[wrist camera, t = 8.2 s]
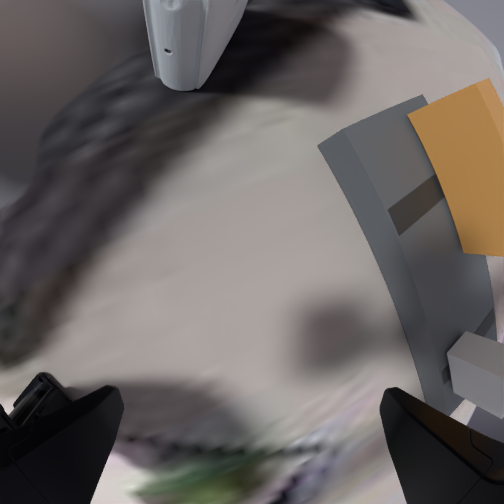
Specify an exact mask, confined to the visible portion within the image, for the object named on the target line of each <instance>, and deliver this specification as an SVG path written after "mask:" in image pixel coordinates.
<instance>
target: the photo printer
mask: <svg viewBox="0 0 504 504" xmlns="http://www.w3.org/2000/svg"><path fill="white" fill-rule="evenodd" d="M247 1H248V0H143V5H144V12H145V19H146V25H147V31H148V37H149V43H150V49H151V54H152V60H153V66H154V72H155V75H156V77H158V78H161V80H162V82H163V83H164V84H165V85H166V86H167V87H169V88H171V89H174V90H178V91H189V90H193V89H195V88H196V89H199V88H200V87H201V86H202V85H203V84H204V82H205V81H206V80H207V78H208V77H209V75H210V74H211V72H212V70H213V68H214V67H215V65H216V63H217V62H218V60H219V58H220V56H221V55H222V53H223V51H224V49H225V48H226V46H227V44H228V42H229V40H230V39H231V37H232V35H233V33H234V31H235V29H236V28H237V26H238V24H239V22H240V20H241V18H242V15H243V13H244V10H245V7H246V4H247Z"/></svg>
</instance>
